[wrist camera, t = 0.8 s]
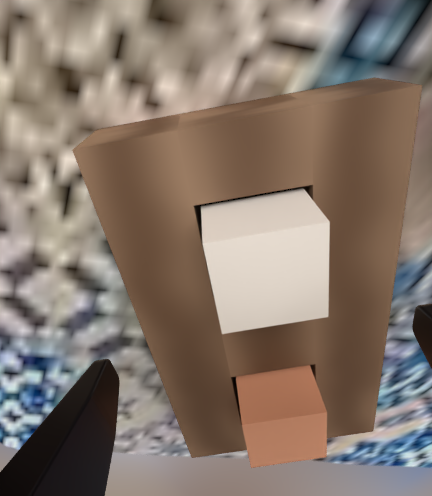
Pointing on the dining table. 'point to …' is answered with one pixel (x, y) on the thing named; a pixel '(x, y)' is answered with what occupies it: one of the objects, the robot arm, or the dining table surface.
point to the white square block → (267, 260)
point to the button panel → (246, 184)
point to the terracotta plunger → (282, 416)
